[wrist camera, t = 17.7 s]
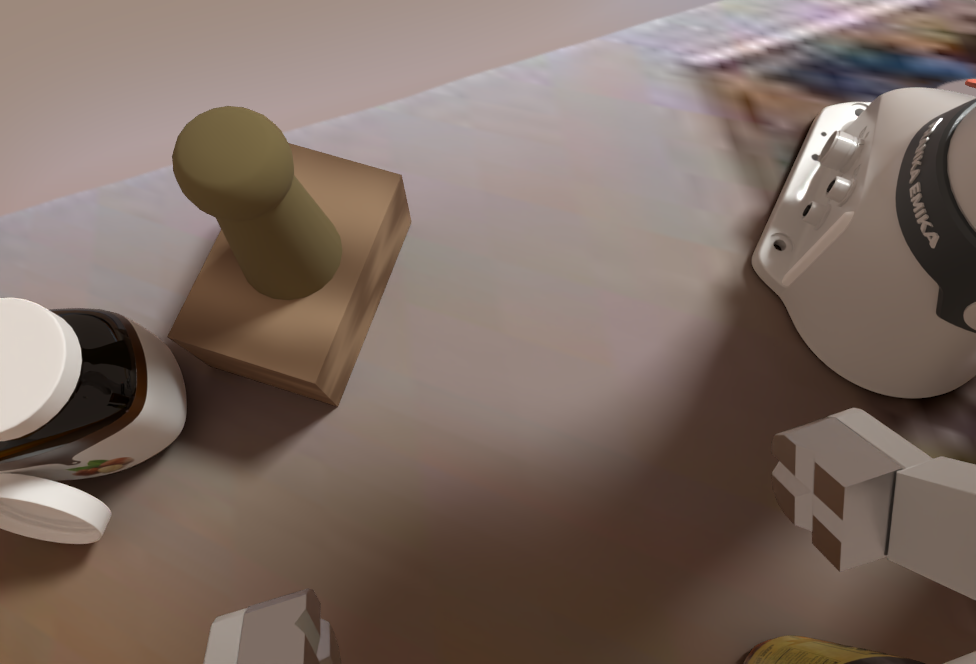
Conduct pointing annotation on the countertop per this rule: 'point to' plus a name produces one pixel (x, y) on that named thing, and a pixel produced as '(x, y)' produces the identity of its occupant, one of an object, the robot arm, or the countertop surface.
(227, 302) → the wooden block
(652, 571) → the countertop surface
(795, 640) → the sauce bottle
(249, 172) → the cork
